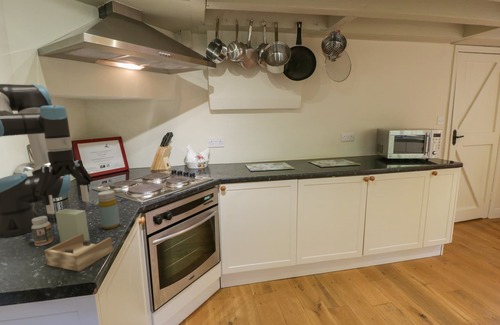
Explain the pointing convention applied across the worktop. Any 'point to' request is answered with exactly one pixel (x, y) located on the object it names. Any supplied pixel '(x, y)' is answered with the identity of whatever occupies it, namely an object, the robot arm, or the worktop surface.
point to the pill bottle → (41, 231)
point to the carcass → (77, 253)
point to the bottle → (108, 209)
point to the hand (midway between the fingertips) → (69, 207)
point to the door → (72, 224)
